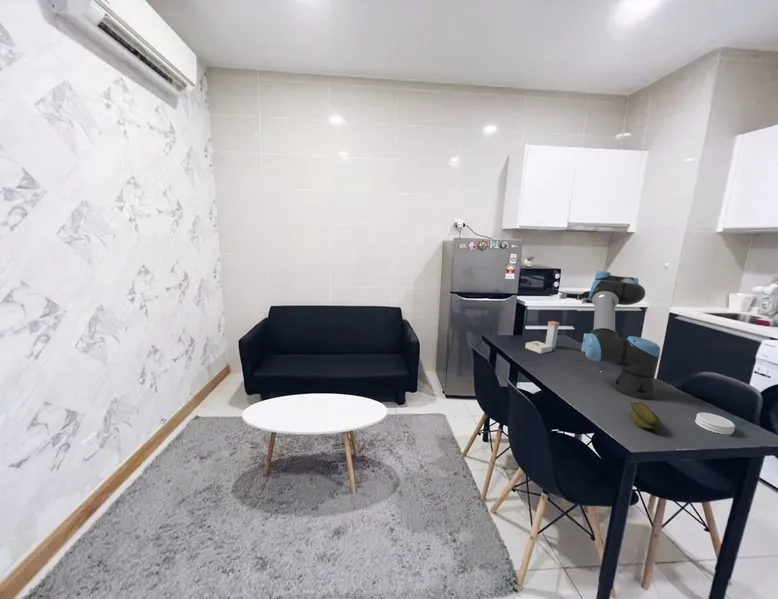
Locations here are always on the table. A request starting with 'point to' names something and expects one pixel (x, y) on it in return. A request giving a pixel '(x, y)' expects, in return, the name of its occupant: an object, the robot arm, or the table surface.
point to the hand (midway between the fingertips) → (570, 298)
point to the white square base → (538, 347)
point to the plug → (552, 333)
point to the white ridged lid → (715, 423)
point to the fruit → (644, 416)
